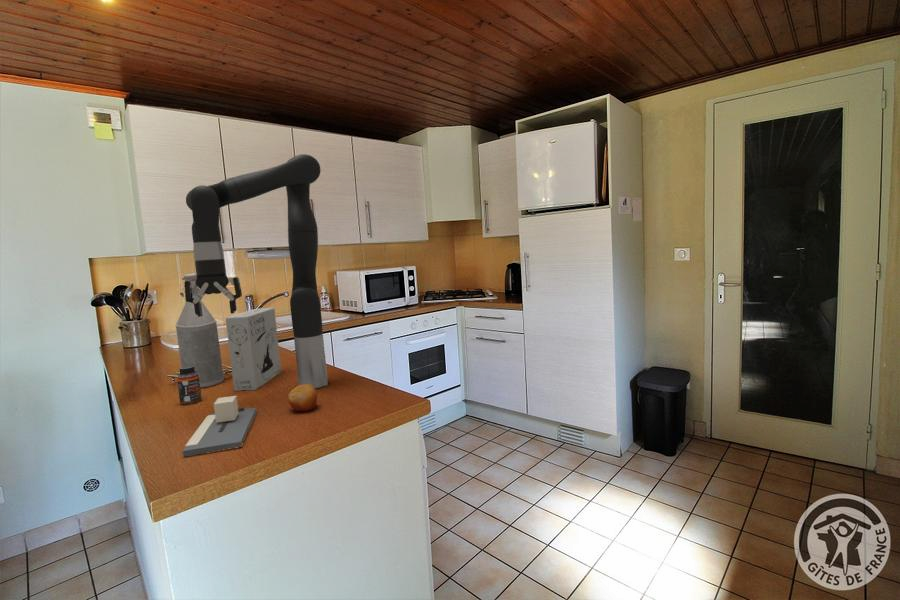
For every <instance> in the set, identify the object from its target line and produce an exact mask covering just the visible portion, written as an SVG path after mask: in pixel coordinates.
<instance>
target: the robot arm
mask: <svg viewBox="0 0 900 600" xmlns="http://www.w3.org/2000/svg"><path fill="white" fill-rule="evenodd" d="M321 172H322V171H321V165H320V162H319V161H318V160H317V158H316V157H314V156H312V155H310V154H305V153H304V154H298V155H295V156H293V157H291V158H289V159H288V160H287V161H286V162H284V163H282V164H279V165H276V166H273V167H269V168H266V169H262V170H258V171H253V172H252V171H251V172H249V173H245V174H239V175H236V176H232V177H230V178H227V179H226V178H225V179H224V180H221V181H219V182H217V183H215V184H209V185H197V186H195V187H193V188H192V189H191V190H189V191H188V193H187V194H186V197H185V203H186V205H187V207H188V209H190V210H191V213H192V225H191V235H192V241H193V242H192V243H193V259H194V266H195V267H194V268H195V273H196V275H197V279H196V281H185V280H184V284H183V285H184V286H185V287H184V291H185V292H184V297H185V298H184V299H185V303H186V302H191V303H193V304H194V308H195V314H196V315H198V317H201V316H202V315H203V314H202V306H201V303H200V301H202V300H203V298H204V296H206V295H212V294H215V295H219V294H223V295H224V296H226V298H228V299H229V301H228V302H229V303H228V304H229V311H230V315H231V314H232V315H233V314H235V312H236V311H238V309H237V307H238V306H237V299H239V298H242V296H243V294H242V293H243V292H242V287H241V282H240V278H239V277H238V276H234V277H230V278H228V275H227V269H226V260H225V254H224V253H225V252H224V247H223V245H222V244H223V243H222V237H221V230H220V209H221V208H223V207H226V206H229V205H233V204H238V203H240V202H244V201H248V200H250V199H254V198H257V197H259V196H262V195H266V194H267V193H270V192H273V191H275V190H277V189H281V188H284V187H286V189H285V190H286V196H287V239H288V253H289V258H290V264H291V268H292V285H291V295H290V299H289V306H290V318H291V325H292V326H291V328H292V332H293V339H294V340H293V342H294V351H295V359H296V368H297V369H296V371H297V378H298V380H297V381H298V386H299V385H304V384H310V385H312V386H313V387H314V388H315V389H318V388H322V387H325V386H329V384H328V383H329V381H328V371H327V370H328V369H327V361H326V354H325V353H326V352H325V343H324V333H323V319H322V318H323V316H322V308H321V307H322V306H321V300H320V295H319V291H318V285H317V275H316V274H317V273H316V271H317V270H316V269H317V262H318V261H317V259H318V252H319V249H318V248H319V239H318V238H319V235H318V224H317V220H316V217H315V215H314V212H313V209H312V206H311V201H310V199H311V198H310V196H311V195H310V193H311V192H310V187H311V184H313V183H315V182H316V181H317V180H318V178H319V177H320V175H321ZM229 283H230V284H231V285H232V286H233V288H234V292H235V294H233V293H232V292H231V290H230V289H229V288H228V287H227V286H228V285H229ZM195 284H196V285H197V287H198V288H199V289H200V291H199V290H198V291H199V292H198V294H197V296H196V297H195V298H193V295H192V288H194V285H195Z"/></svg>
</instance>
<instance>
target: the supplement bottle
mask: <svg viewBox="0 0 900 600" xmlns="http://www.w3.org/2000/svg"><path fill="white" fill-rule="evenodd" d="M176 381H177V382H176V383H177V390H178V400H179V403H180V405H192V403H193V404H196V403H198V401H199V402H200V401H201V400H202V391H201V388H200V381H199V374H198V373H197V372H196V371H195V369H194V366H184V367H181V366H180V367H179V374H178V375H177V377H176Z"/></svg>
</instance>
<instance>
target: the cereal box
mask: <svg viewBox="0 0 900 600" xmlns="http://www.w3.org/2000/svg"><path fill="white" fill-rule="evenodd" d="M275 310H276V309H275V307H261V308H254V309H250V310H249V309H248V310H247V311H243V312H239V313H237V314H232V315H230V316H227V317H225V324H226V333H227V341H228V342H227V343H228V350H229V358H230V366H231V375H232V383H233V391H235V392H243V391H242V390H246V391H257V390H258V389H260V388H261V387H262V386H264V385H265V384H267V383H268V382H269V381H271V380H272V379H273V378H275V377H276V376H278V375H279V374H281V372H282V367H281V366H282V365H281V358H280V348H279V347H280V346H279V338H278V330H277V321H276V311H275Z"/></svg>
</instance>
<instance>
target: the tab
mask: <svg viewBox="0 0 900 600" xmlns="http://www.w3.org/2000/svg"><path fill="white" fill-rule="evenodd" d="M238 408H239V405H238V396H237V395H231V396H224V397H217V399H216V400H215V401H214V403H213V410H214V413H215V419H216V423H218V422H225V421H231V420H235V419H236V417H237V415H238V414H239V413H238Z"/></svg>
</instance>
